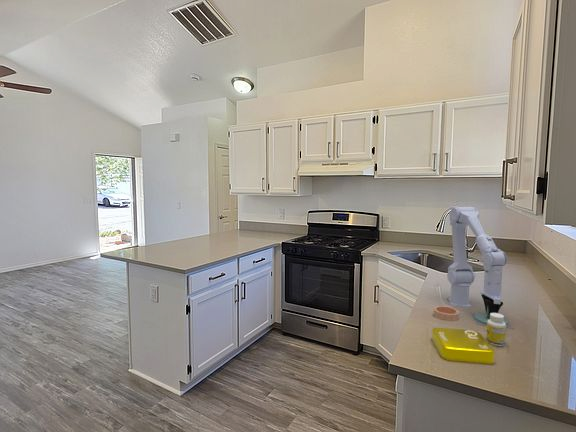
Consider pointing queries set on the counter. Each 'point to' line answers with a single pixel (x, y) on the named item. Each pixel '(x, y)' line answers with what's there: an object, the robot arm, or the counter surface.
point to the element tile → (462, 345)
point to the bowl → (446, 313)
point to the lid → (485, 317)
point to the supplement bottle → (496, 329)
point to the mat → (486, 324)
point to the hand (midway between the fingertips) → (490, 315)
